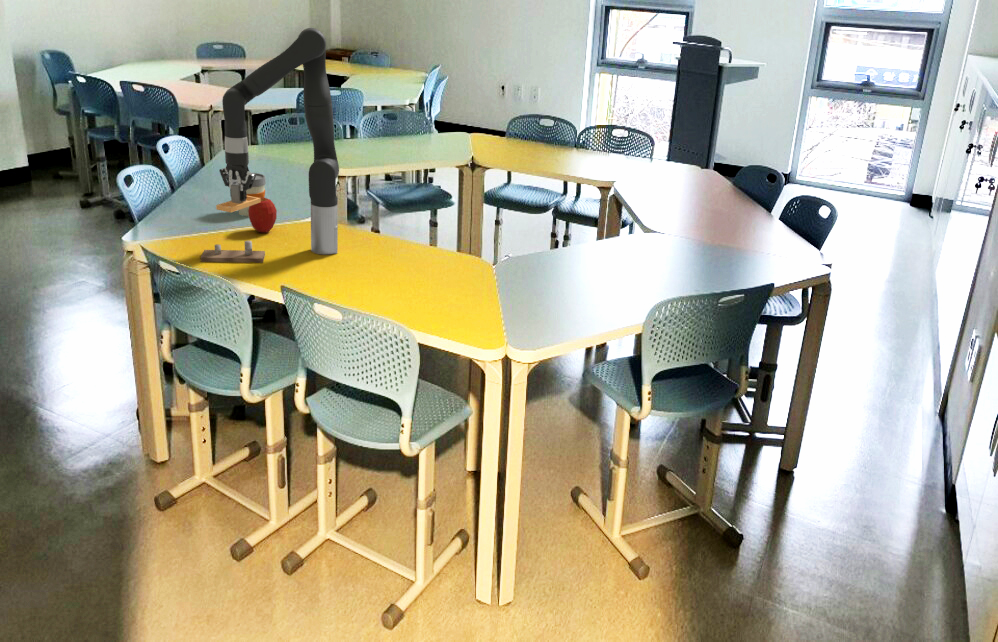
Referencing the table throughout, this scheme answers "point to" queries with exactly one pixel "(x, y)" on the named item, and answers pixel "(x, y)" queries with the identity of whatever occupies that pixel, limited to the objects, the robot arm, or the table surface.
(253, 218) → the apple
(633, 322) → the table surface
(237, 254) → the pin board
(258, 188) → the reusable coffee cup
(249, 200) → the hole bar
